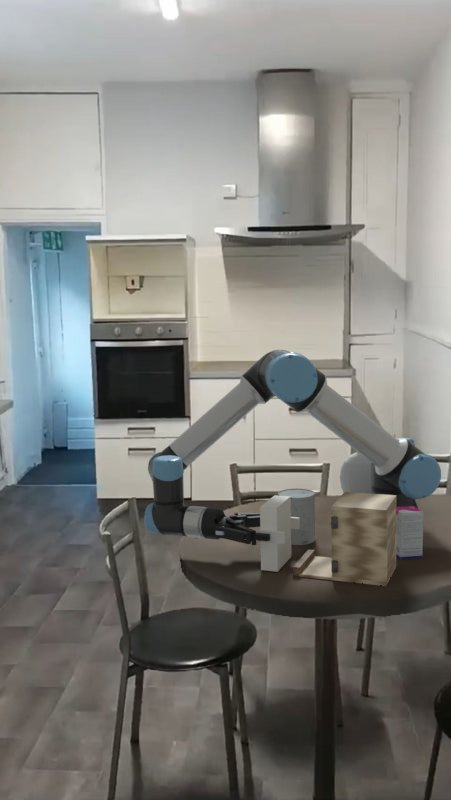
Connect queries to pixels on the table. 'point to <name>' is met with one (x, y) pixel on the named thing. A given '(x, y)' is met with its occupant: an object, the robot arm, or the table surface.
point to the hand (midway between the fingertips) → (292, 530)
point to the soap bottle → (356, 474)
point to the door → (276, 519)
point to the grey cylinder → (302, 514)
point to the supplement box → (409, 532)
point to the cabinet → (357, 542)
